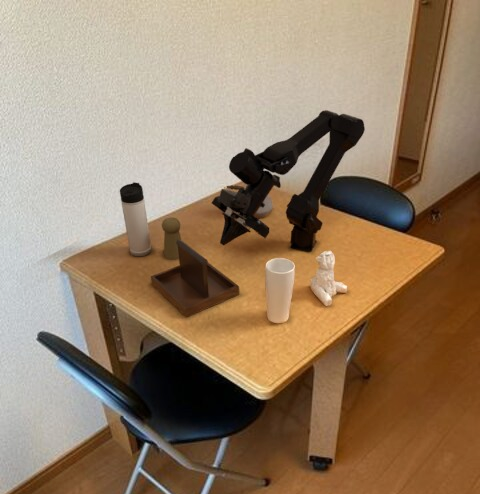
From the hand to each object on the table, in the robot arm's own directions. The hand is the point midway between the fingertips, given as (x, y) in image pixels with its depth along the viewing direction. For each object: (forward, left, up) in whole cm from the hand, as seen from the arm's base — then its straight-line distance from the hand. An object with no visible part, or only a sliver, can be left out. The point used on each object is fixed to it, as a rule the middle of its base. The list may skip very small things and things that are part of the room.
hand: (221, 244), depth 128 cm
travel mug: (+29, -5, -11) cm, 31 cm away
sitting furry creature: (-27, -3, -11) cm, 30 cm away
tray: (+5, +8, -10) cm, 14 cm away
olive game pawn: (+19, -7, -11) cm, 22 cm away
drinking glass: (-19, +11, -11) cm, 25 cm away
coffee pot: (+7, -35, -11) cm, 37 cm away
